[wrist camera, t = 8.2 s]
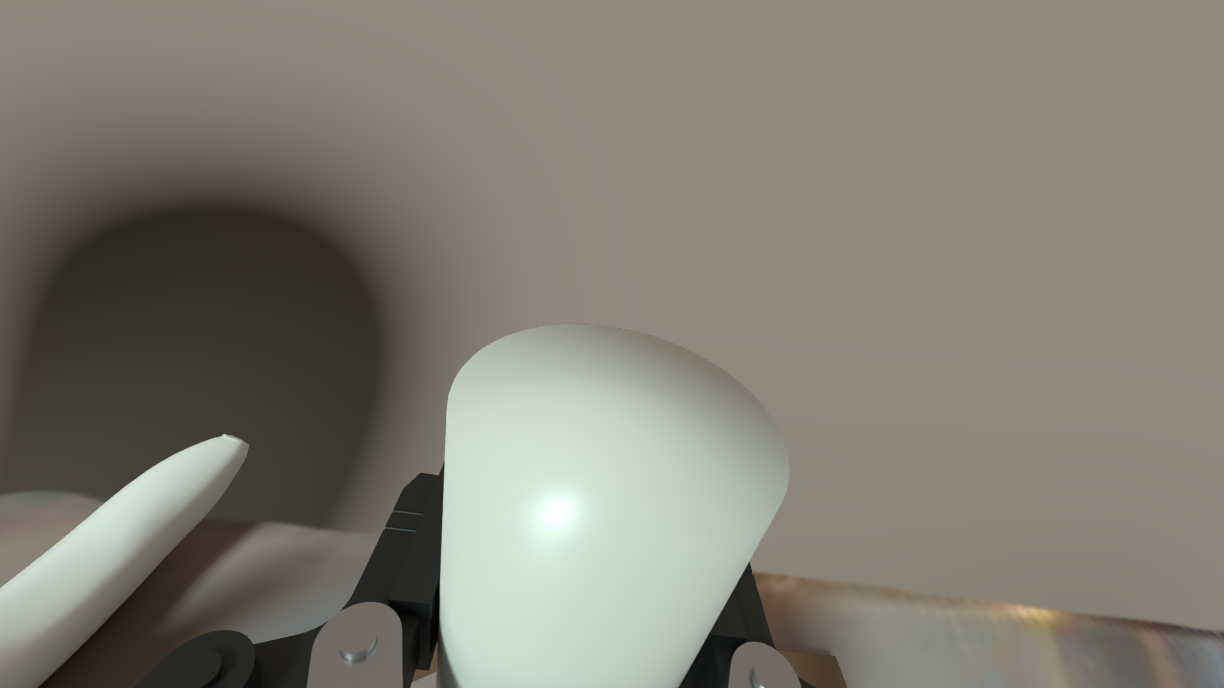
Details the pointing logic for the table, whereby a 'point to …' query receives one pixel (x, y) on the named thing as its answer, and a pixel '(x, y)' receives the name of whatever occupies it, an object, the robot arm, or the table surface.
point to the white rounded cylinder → (596, 509)
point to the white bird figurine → (107, 559)
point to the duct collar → (425, 682)
